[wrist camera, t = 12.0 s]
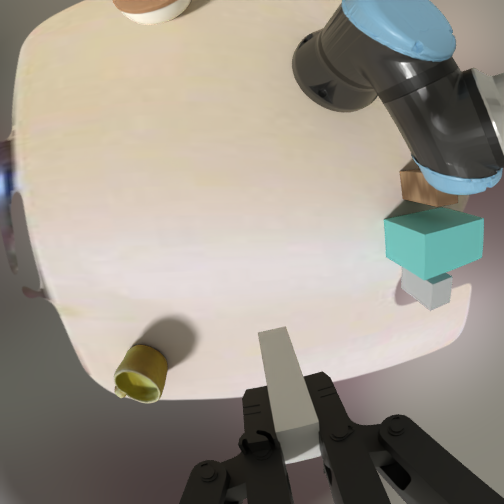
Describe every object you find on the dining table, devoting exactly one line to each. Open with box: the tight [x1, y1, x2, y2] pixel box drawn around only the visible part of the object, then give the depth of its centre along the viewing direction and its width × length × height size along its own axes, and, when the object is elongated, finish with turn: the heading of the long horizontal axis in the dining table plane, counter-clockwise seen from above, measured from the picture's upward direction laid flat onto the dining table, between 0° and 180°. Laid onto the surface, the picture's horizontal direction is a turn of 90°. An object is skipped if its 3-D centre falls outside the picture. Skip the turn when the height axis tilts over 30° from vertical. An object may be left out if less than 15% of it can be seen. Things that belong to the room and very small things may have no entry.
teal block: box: [384, 207, 484, 280], centre depth 39 cm, size 7×15×12 cm, turn 102°
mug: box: [114, 344, 168, 403], centre depth 44 cm, size 12×10×10 cm
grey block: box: [401, 267, 453, 311], centre depth 42 cm, size 5×5×10 cm
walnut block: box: [400, 169, 458, 207], centre depth 37 cm, size 5×5×10 cm
